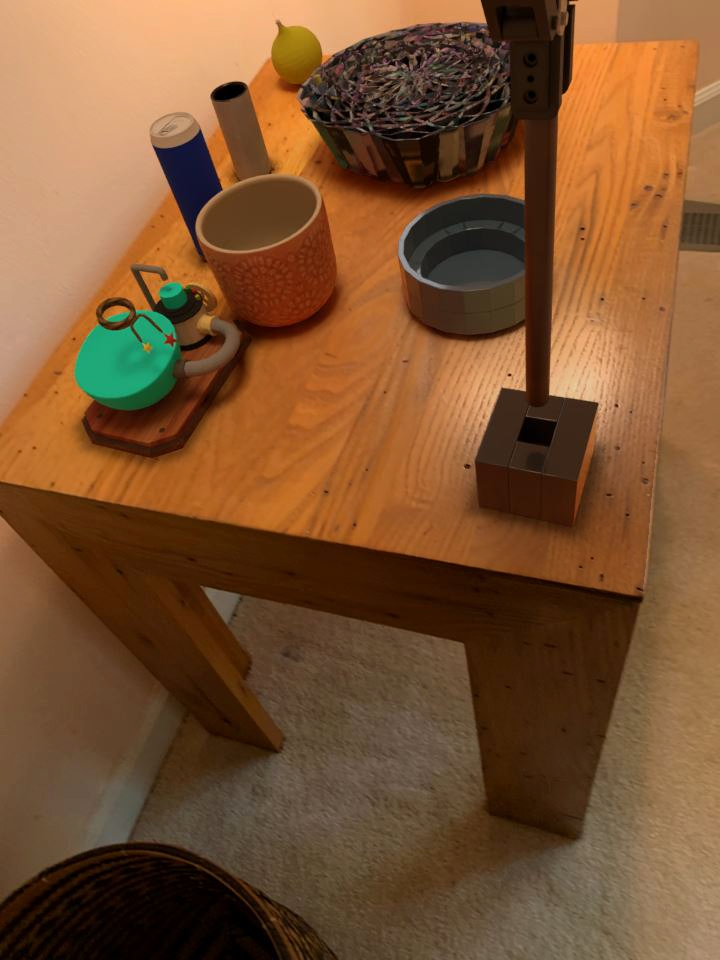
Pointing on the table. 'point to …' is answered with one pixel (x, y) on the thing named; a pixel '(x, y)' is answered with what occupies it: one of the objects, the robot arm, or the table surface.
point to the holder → (536, 456)
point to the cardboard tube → (241, 129)
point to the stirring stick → (539, 253)
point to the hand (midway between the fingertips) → (541, 101)
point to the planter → (270, 248)
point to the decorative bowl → (415, 103)
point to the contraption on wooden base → (156, 367)
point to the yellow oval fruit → (295, 53)
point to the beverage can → (185, 165)
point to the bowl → (466, 264)
